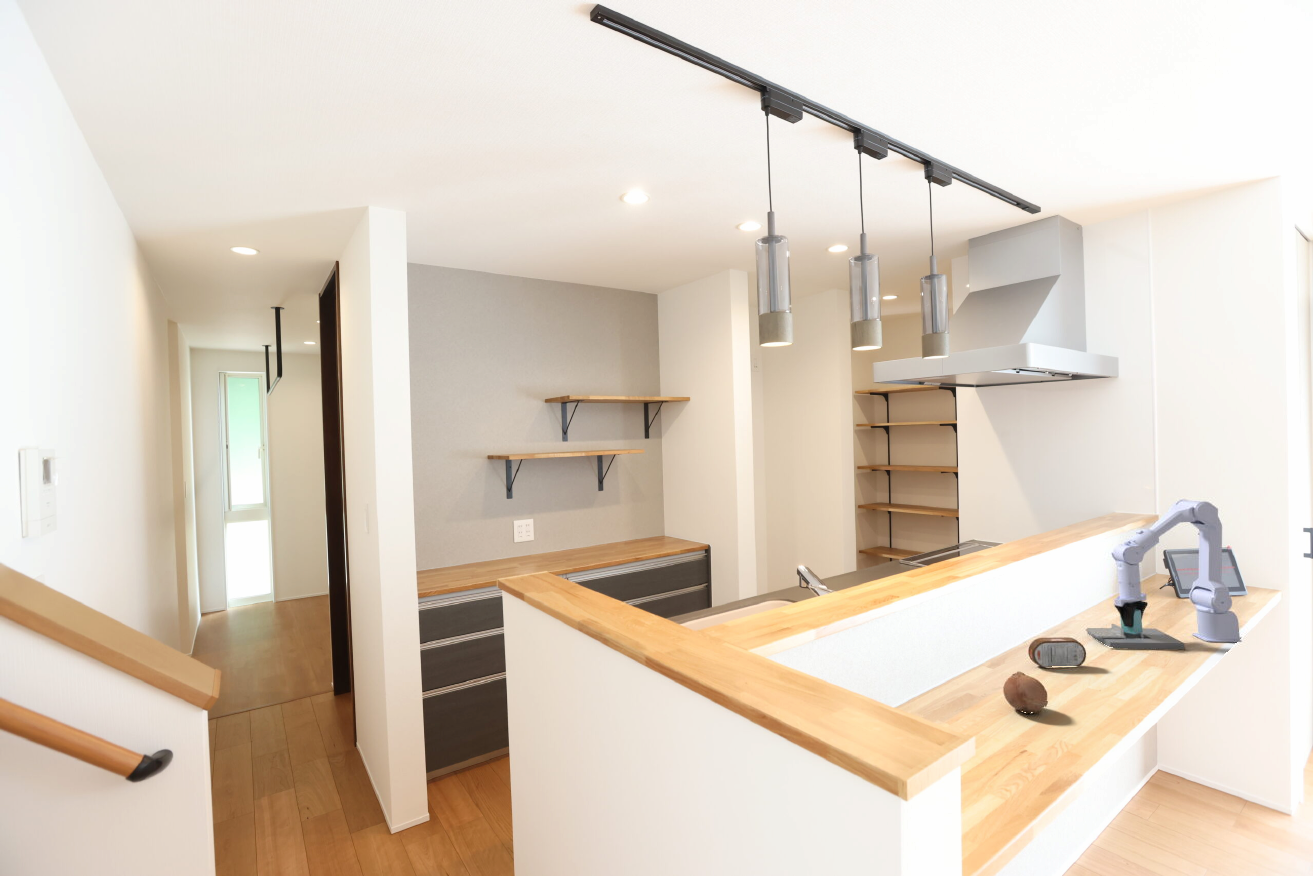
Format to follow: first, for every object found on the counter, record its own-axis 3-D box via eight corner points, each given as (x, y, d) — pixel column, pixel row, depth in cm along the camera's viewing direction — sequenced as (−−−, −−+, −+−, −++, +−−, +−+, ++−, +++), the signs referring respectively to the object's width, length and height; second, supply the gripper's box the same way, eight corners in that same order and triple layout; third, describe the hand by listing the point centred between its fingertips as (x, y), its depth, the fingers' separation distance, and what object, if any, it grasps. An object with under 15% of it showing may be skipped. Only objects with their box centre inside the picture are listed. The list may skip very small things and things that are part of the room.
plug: (1128, 629, 204) (1127, 607, 205) (1142, 632, 201) (1140, 610, 201) (1121, 631, 203) (1119, 609, 203) (1135, 634, 199) (1133, 612, 199)
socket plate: (1155, 634, 207) (1155, 628, 207) (1184, 649, 191) (1184, 643, 192) (1087, 634, 211) (1087, 628, 212) (1110, 648, 196) (1110, 642, 196)
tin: (1082, 665, 184) (1080, 636, 184) (1089, 668, 181) (1087, 639, 181) (1028, 666, 185) (1026, 637, 186) (1033, 669, 182) (1031, 640, 182)
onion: (1016, 717, 159) (1005, 675, 163) (1057, 714, 153) (1045, 671, 158) (1003, 715, 153) (992, 671, 157) (1046, 712, 147) (1033, 667, 152)
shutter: (1113, 630, 206) (1112, 623, 206) (1125, 637, 199) (1124, 629, 199) (1085, 630, 208) (1085, 623, 208) (1096, 637, 200) (1096, 629, 200)
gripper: (1130, 587, 195) (1134, 632, 195) (1155, 581, 202) (1159, 624, 201) (1106, 584, 202) (1109, 627, 201) (1131, 578, 208) (1134, 619, 208)
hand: (1132, 625), depth 202 cm, fingers closed on plug, 4 cm apart
